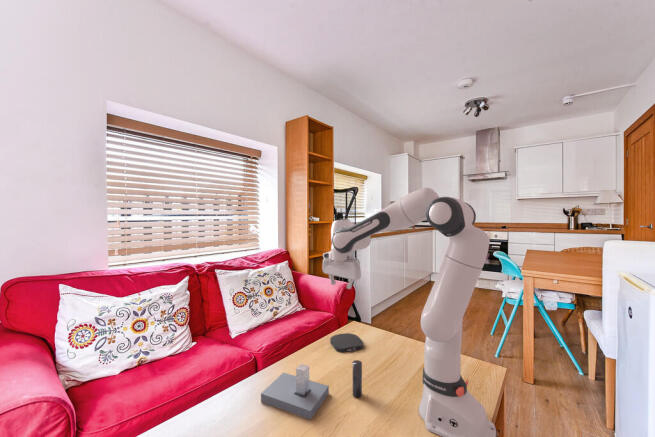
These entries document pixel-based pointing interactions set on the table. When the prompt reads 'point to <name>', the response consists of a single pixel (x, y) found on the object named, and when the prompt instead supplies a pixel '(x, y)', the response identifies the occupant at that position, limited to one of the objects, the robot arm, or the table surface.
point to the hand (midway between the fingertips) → (340, 286)
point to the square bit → (302, 380)
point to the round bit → (357, 379)
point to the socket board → (294, 396)
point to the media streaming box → (346, 342)
